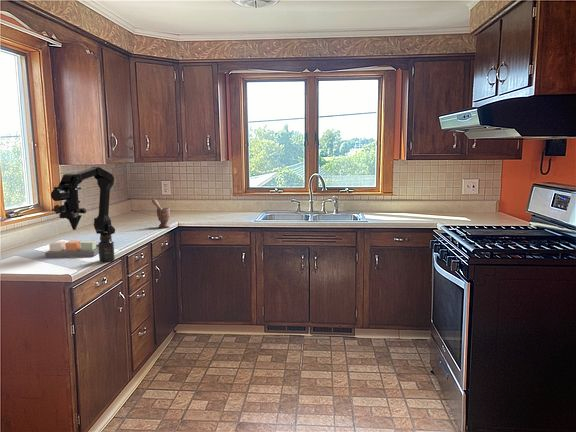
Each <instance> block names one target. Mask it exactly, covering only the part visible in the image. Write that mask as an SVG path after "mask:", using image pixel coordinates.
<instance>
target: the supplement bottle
mask: <svg viewBox="0 0 576 432" xmlns="http://www.w3.org/2000/svg"><path fill="white" fill-rule="evenodd" d="M111 236H112V235H111ZM111 236H110V235H103V236H99V240H100V241H99V242H98V245H97V246H98V249H99V254H98V258H99V259H98V260H99V262H101V263H110V262H114V261H115V260H116V257H115V255H116V254H115V242H114V241H113V240H112V241H111ZM113 242H114V243H113Z"/></svg>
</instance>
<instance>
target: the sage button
mask: <svg viewBox="0 0 576 432" xmlns="http://www.w3.org/2000/svg"><path fill="white" fill-rule="evenodd" d="M96 247H97V241H96V240H84V241H82V242H81V251H93V250H94V249H96Z"/></svg>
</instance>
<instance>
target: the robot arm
mask: <svg viewBox="0 0 576 432" xmlns="http://www.w3.org/2000/svg"><path fill="white" fill-rule="evenodd" d="M91 177H93V178H94V179H95V180H97V186H98V188H99V204H98V215H97V216H96V217H95V218H93V226H94V229H95V232H96V234H98V235H99V234H100V236H103V235H110V236H111V241H113V240H112V237H113V236H112V235H113V234H115V233H116V228H115V227H114V226H113V225H112V220H111V219H110V216H109V209H110V194H111V192H110V191H111V189H112V187H113V186H114V182H115V176H114V175H113V173H110V171H107V170H105V169H103V168H102V167H100V166H91V167H89V168H87V169H84V170H81V171H78V172H73V173H64V174H63V175H62V178H61V180H60V182H59V184H58V186H54V187H53V189H52V191H51V192H50V198H51V199H52V200H53V201H54V202H61V201H64V202H63V204H61V205H59V204H55V205H54V206H53V210H52V211H53V212H55V215H57V214H58V215H59V219H67V221H69V224H70V226H71V229H72V230H73V231H77V228H78V226H79V225H78V224H79V222H80V220H81V218H82V217H83V215H82V214H86V213H87V209H86V208H85V207H80V203H81V200H80V199H79V190H81V189H82V188H81V187H80V186H79V185H80V184H81V183H83V181H84V180H86V179H89V178H91ZM100 236H99V237H100ZM113 243H114V244H115V242H114V241H113Z"/></svg>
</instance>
